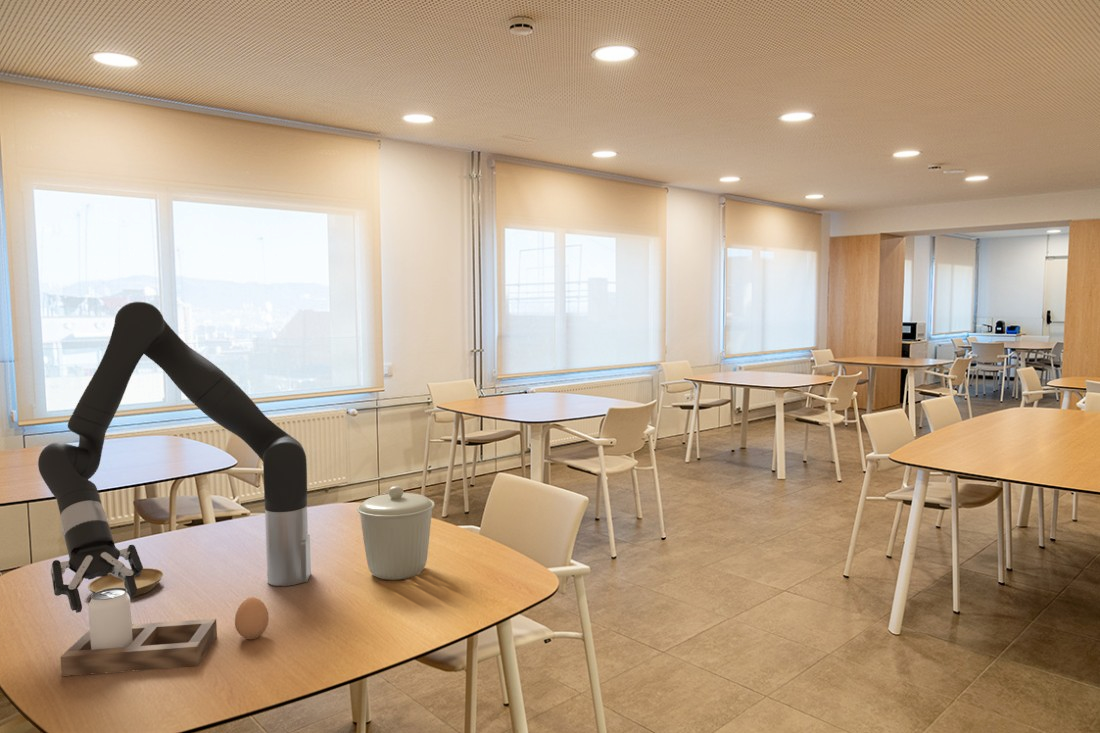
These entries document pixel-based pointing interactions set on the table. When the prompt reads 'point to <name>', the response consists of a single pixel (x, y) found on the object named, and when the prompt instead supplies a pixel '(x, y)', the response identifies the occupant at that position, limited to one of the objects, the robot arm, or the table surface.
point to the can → (110, 619)
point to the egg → (251, 618)
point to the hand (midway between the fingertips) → (106, 603)
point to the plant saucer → (143, 582)
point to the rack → (144, 649)
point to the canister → (396, 533)
